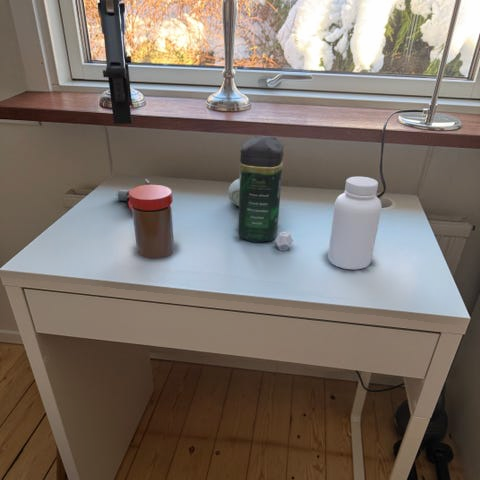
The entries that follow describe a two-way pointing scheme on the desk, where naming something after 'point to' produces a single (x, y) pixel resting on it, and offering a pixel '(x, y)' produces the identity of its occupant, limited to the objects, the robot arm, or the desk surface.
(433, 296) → the desk surface
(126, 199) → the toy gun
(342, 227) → the pill bottle
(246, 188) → the coffee jar
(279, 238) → the game die
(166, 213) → the jam jar
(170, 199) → the lid
